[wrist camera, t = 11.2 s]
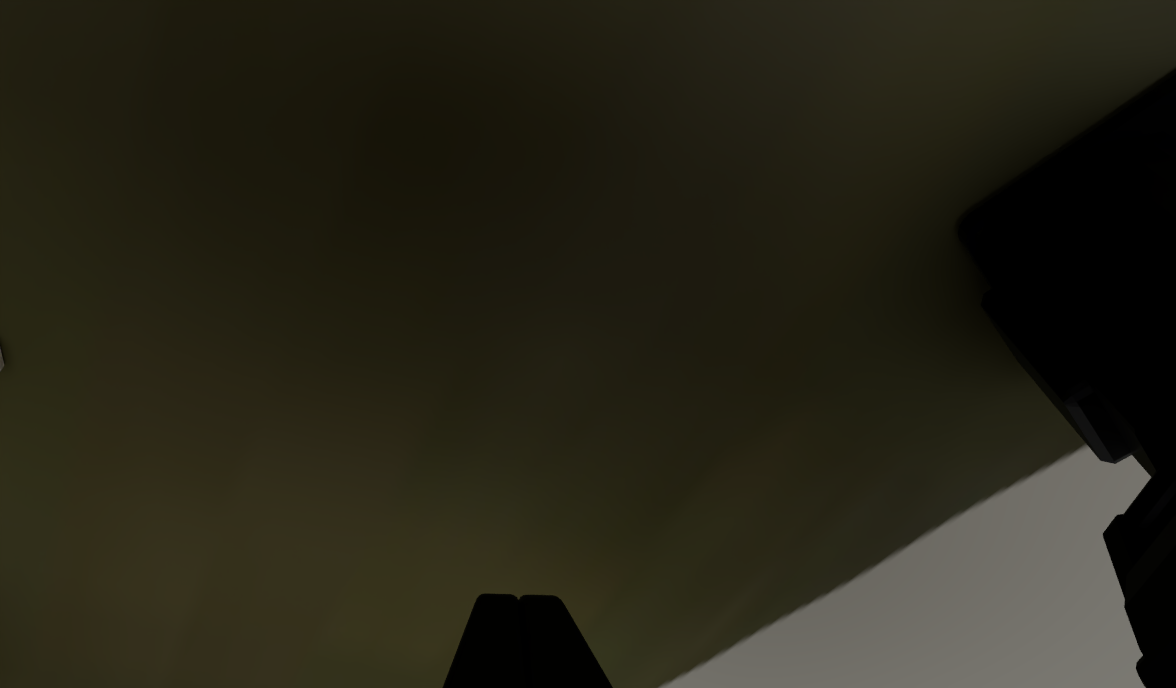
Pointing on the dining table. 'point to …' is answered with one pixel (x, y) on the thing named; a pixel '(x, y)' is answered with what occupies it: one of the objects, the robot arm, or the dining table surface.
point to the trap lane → (1, 361)
